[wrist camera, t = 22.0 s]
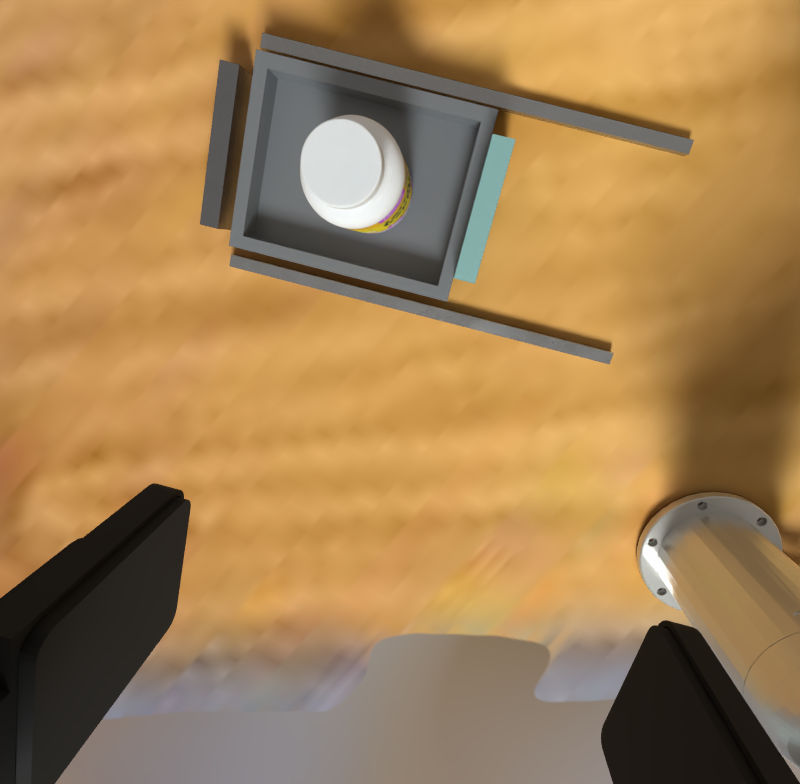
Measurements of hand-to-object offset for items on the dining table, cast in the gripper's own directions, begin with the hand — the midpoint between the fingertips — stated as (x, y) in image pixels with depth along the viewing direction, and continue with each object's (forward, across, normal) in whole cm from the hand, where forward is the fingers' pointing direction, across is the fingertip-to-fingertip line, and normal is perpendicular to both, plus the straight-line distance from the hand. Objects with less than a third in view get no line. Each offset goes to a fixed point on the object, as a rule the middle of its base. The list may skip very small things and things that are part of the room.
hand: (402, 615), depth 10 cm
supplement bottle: (+35, +8, -10) cm, 37 cm away
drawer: (+36, +9, -10) cm, 39 cm away
